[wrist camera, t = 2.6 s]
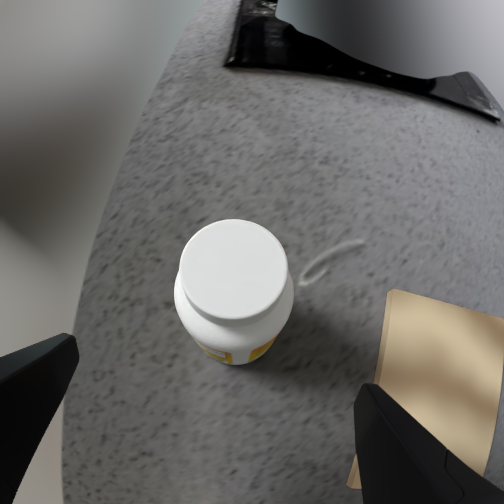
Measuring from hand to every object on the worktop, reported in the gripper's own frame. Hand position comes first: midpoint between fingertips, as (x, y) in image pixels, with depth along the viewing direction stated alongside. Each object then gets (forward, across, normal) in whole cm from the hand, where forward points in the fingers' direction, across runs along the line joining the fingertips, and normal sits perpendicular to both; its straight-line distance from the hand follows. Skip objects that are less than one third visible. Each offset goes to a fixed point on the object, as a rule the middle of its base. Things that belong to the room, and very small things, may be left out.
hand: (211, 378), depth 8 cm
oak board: (+8, -16, +8) cm, 19 cm away
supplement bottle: (+11, 0, +5) cm, 12 cm away
